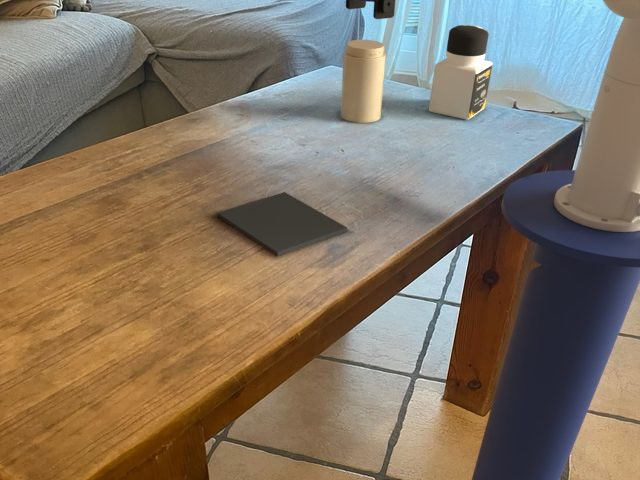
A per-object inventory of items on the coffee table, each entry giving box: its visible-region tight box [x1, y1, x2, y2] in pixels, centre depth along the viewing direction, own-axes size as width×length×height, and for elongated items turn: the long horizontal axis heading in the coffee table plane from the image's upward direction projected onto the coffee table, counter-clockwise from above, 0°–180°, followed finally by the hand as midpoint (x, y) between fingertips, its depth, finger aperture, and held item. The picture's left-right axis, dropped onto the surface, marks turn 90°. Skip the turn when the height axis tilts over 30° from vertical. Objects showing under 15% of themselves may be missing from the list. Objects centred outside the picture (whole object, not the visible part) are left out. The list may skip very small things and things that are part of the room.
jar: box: [340, 39, 387, 124], centre depth 102 cm, size 6×6×10 cm
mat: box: [216, 191, 348, 257], centre depth 77 cm, size 12×10×1 cm
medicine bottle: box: [428, 24, 493, 121], centre depth 105 cm, size 7×7×12 cm
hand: (369, 11), depth 96 cm, fingers closed on lid, 6 cm apart
